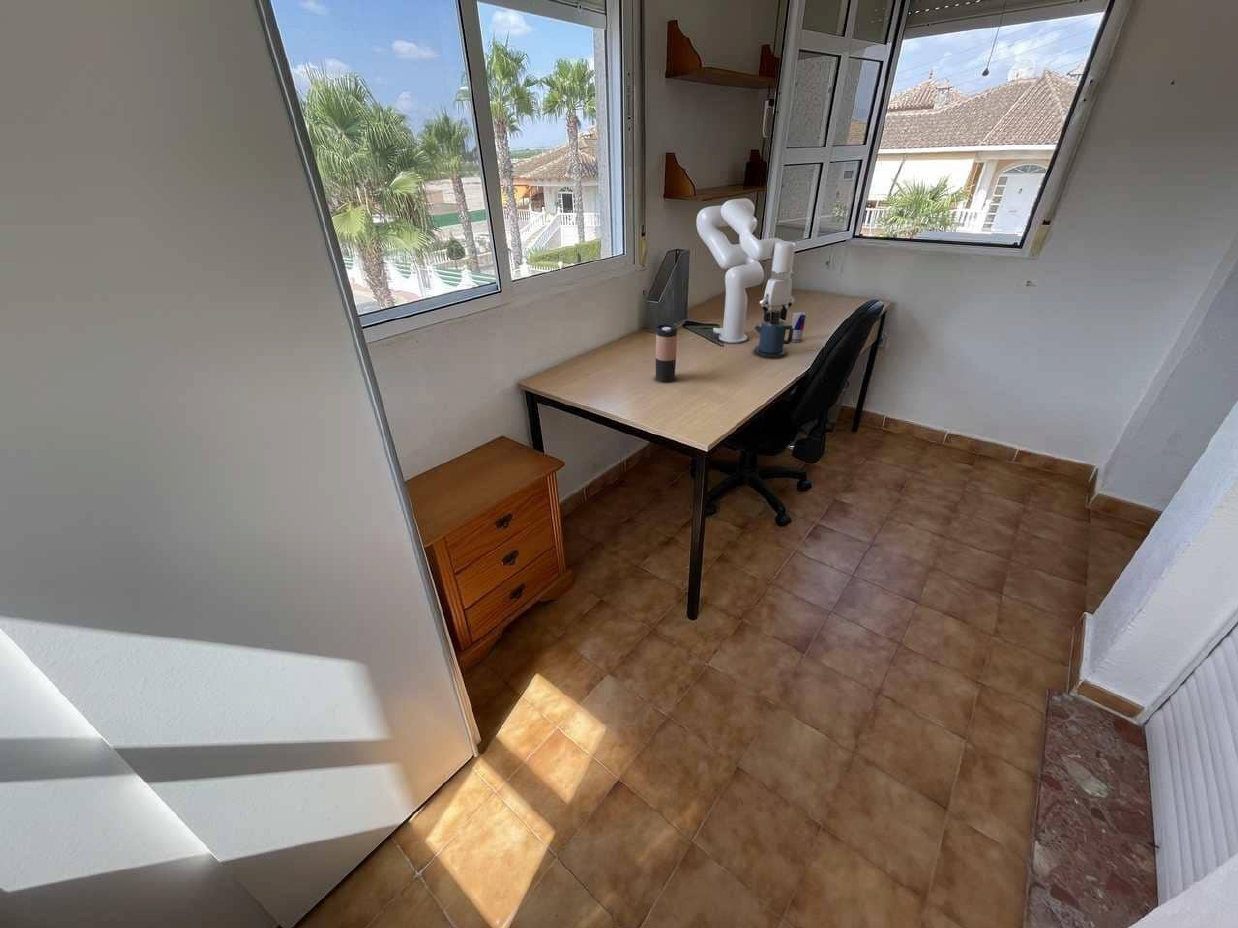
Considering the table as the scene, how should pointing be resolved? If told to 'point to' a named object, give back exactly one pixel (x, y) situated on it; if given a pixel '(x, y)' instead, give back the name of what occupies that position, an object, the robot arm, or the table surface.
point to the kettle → (774, 334)
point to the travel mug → (666, 352)
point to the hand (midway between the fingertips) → (774, 320)
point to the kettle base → (769, 355)
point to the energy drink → (798, 326)
